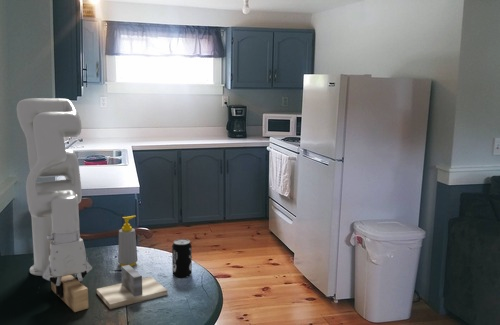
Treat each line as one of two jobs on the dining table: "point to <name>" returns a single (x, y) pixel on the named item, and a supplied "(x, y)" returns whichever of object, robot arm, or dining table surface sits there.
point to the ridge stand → (131, 289)
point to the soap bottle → (127, 244)
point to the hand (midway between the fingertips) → (69, 294)
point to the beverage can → (182, 258)
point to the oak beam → (73, 293)
